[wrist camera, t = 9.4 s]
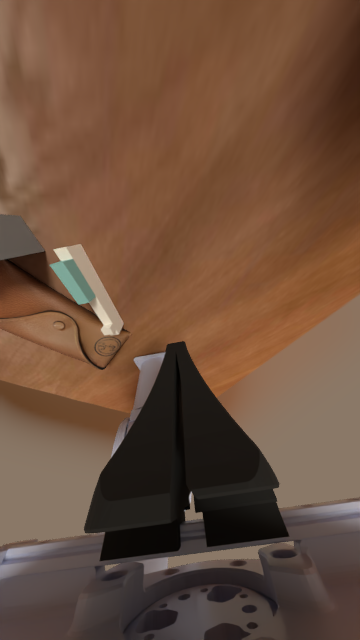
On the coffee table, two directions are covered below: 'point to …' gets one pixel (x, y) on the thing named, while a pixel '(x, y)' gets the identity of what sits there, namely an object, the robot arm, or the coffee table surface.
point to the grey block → (16, 238)
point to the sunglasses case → (53, 319)
